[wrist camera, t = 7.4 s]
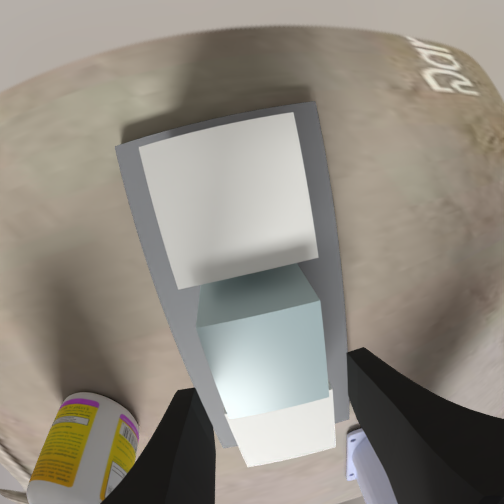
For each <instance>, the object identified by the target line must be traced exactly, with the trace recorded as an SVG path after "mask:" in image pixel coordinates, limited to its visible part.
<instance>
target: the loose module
mask: <svg viewBox="0 0 504 504" xmlns="http://www.w3.org/2000/svg"><path fill="white" fill-rule="evenodd" d="M196 330H197V333H198V336H199V339H200V342H201V345H202V348H203V350H204V353H205V356H206V359H207V362H208V364H209V367H210V370H211V373H212V375H213V378H214V381H215V383H216V386H217V389H218V391H219V394H220V397H221V399H222V402H223V404H224V407H225V410H226V412H227V415H228V417H229V419H235V418H241V417H246V416H251V415H257V414H262V413H266V412H271V411H276V410H280V409H285V408H289V407H293V406H297V405H301V404H305V403H309V402H313V401H316V400H320V399H324V398H327V397H329V386H328V374H327V362H326V351H325V340H324V330H323V320H322V311H321V302H320V299H319V298H318V296H317V294H316V293H315V291H314V290H313V288H312V286H311V285H310V283H309V282H308V280H307V278H306V277H305V275H304V274H303V272H302V270H301V269H300V267H299V266H298V264H297V263H294V264H290V265H285V266H281V267H277V268H273V269H268V270H264V271H260V272H255V273H251V274H247V275H242V276H238V277H233V278H229V279H224V280H220V281H216V282H211V283H207V284H202V285H201V286H200V295H199V304H198V313H197V322H196Z"/></svg>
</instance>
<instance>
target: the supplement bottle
mask: <svg viewBox="0 0 504 504" xmlns="http://www.w3.org/2000/svg"><path fill="white" fill-rule="evenodd" d="M138 441H139V428H138V424H137V422H136V420H135V419H134V417H133V416H132V415H131V413H130V412H129V411H128V410H127V409H125V408H124V407H123V406H121V405H120V404H118V403H117V402H115V401H113V400H111V399H109V398H107V397H105V396H102V395H99V394H95V393H89V392H79V393H75V394H72V395H70V396H68V397H67V398H66V399H65V400H64V401H63V403H62V405H61V407H60V409H59V411H58V413H57V416H56V418H55V420H54V422H53V424H52V427H51V429H50V431H49V434H48V436H47V438H46V441H45V443H44V446H43V448H42V451H41V453H40V456H39V458H38V461H37V463H36V466H35V468H34V471H33V473H32V476H31V479H30V481H29V485H28V488H27V498H28V501H29V504H100V503H101V502H102V501H103V500H104V499H105V498H106V497H107V496H108V495H109V494H110V493H111V492H112V491H113V490H114V488H115V487H116V486H117V485H118V484H119V483H120V482H121V480H122V479H123V478H124V477H125V476H126V474H127V473H128V472H129V470H130V469H131V468H132V466H133V465H134V463H135V458H136V452H137V446H138Z"/></svg>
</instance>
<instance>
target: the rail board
mask: <svg viewBox="0 0 504 504" xmlns="http://www.w3.org/2000/svg"><path fill="white" fill-rule="evenodd" d="M115 150H116V154H117V159H118V163H119V167H120V171H121V175H122V179H123V183H124V187H125V190H126V194H127V198H128V201H129V205H130V209H131V212H132V216H133V219H134V223H135V226H136V229H137V233H138V236H139V239H140V242H141V246H142V249H143V252H144V255H145V258H146V261H147V264H148V267H149V270H150V273H151V276H152V279H153V282H154V285H155V288H156V291H157V294H158V297H159V299H160V302H161V305H162V308H163V310H164V313H165V316H166V319H167V321H168V324H169V326H170V329H171V332H172V334H173V337H174V339H175V342H176V344H177V347H178V349H179V352H180V354H181V357H182V359H183V362H184V364H185V366H186V369H187V371H188V374H189V376H190V378H191V381H192V383H193V385H194V387H195V388H196V390H197V393H198V395H199V397H200V399H201V401H202V404H203V406H204V408H205V410H206V412H207V415H208V417H209V419H210V421H211V423H212V425H213V429H214V431H215V433H216V435H217V437H218V439H219V441H220V443H221V445H222V447H223V448H229V447H235V446H238V447H239V449H240V451H241V453H242V456H243V458H244V460H245V462H246V464H247V467H252V466H258V465H263V464H268V463H273V462H278V461H283V460H287V459H292V458H296V457H300V456H304V455H308V454H312V453H316V452H319V451H323V450H326V449H330V448H333V447H336V439H335V423H338V422H342V421H345V420H348V419H349V396H348V378H347V355H346V353H347V352H348V349H347V332H346V317H345V304H344V292H343V281H342V271H341V261H340V252H339V243H338V235H337V227H336V219H335V212H334V205H333V198H332V191H331V185H330V178H329V172H328V166H327V160H326V154H325V149H324V143H323V138H322V133H321V127H320V122H319V117H318V112H317V108H316V103H315V101H312V102H305V103H297V104H290V105H284V106H277V107H271V108H265V109H260V110H254V111H249V112H244V113H239V114H234V115H229V116H224V117H220V118H215V119H211V120H206V121H202V122H198V123H194V124H190V125H186V126H182V127H178V128H175V129H171V130H167V131H164V132H160V133H157V134H153V135H150V136H146V137H143V138H140V139H136V140H133V141H130V142H127V143H124V144H121V145H118V146H115ZM294 263H297V264H298V266H299V267H300V269H301V270H302V272H303V274H304V275H305V277H306V278H307V280H308V282H309V283H310V285H311V286H312V288H313V290H314V291H315V293H316V294H317V296H318V298H319V299H320V302H321V311H322V320H323V330H324V340H325V351H326V362H327V374H328V386H329V397H327V398H324V399H320V400H316V401H313V402H309V403H305V404H301V405H297V406H293V407H289V408H285V409H280V410H276V411H271V412H266V413H262V414H257V415H251V416H246V417H241V418H235V419H229V417H228V415H227V412H226V410H225V407H224V404H223V402H222V399H221V397H220V394H219V391H218V389H217V386H216V383H215V381H214V378H213V375H212V373H211V370H210V367H209V364H208V362H207V359H206V356H205V353H204V350H203V348H202V345H201V342H200V339H199V336H198V333H197V330H196V322H197V313H198V304H199V295H200V286H201V285H202V284H207V283H211V282H216V281H220V280H224V279H229V278H233V277H238V276H242V275H247V274H251V273H255V272H260V271H264V270H268V269H273V268H277V267H281V266H285V265H290V264H294Z"/></svg>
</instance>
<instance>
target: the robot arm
mask: <svg viewBox="0 0 504 504" xmlns="http://www.w3.org/2000/svg"><path fill="white" fill-rule="evenodd" d="M346 355H347V378H348V396H349V399H350V402H351V404H352V407H353V410H354V412H355V415H356V417H357V420H358V422H359V423H360V425H361V427H362V428H361V429H358V430H355V431H352V432H350V433H348V435H347V460H346V479H347V481H351V480H354V479H357V482H358V484H359V487H360V489H361V492H362V495H363V497H364V500H365V502H366V504H504V419H501V418H497V417H493V416H490V415H486V414H483V413H480V412H477V411H473V410H470V409H468V408H465V407H462V406H460V405H458V404H455V403H453V402H451V401H448V400H446V399H444V398H442V397H440V396H438V395H436V394H434V393H432V392H431V391H429V390H427V389H425V388H423V387H422V386H420V385H418V384H417V383H415V382H413V381H412V380H410V379H409V378H407V377H406V376H404V375H402V374H401V373H399V372H398V371H396V370H395V369H393V368H392V367H391V366H389V365H388V364H386V363H385V362H384V361H382V360H381V359H379V358H378V357H377V356H375V355H374V354H373V353H371V352H370V351H369V350H367V349H366V348H364V347H363V348H360V349H357V350H353V351H350V352H347V353H346ZM215 463H216V450H215V440H214V431H213V425H212V423H211V421H210V419H209V417H208V415H207V412H206V410H205V408H204V406H203V404H202V401H201V399H200V397H199V395H198V393H197V390H196V388H189V389H182V390H177V392H176V393H175V395H174V397H173V399H172V401H171V403H170V405H169V407H168V409H167V410H166V412H165V414H164V416H163V418H162V420H161V422H160V423H159V425H158V427H157V429H156V430H155V432H154V434H153V436H152V437H151V439H150V441H149V442H148V444H147V446H146V447H145V449H144V450H143V452H142V453H141V455H140V456H139V458H138V459H137V461H136V462H135V464H134V465H133V466H132V468H131V469H130V470H129V472H128V473H127V474H126V476H125V477H124V478H123V479H122V480H121V482H120V483H119V484H118V485H117V486H116V487H115V488H114V490H113V491H112V492H111V493H110V494H109V495H108V496H107V497H106V498H105V499H104V500H103V501H102V502H101V503H100V504H215Z"/></svg>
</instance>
